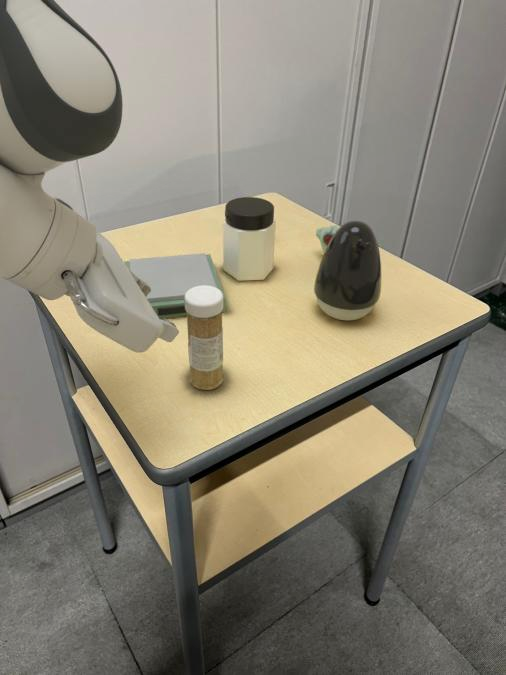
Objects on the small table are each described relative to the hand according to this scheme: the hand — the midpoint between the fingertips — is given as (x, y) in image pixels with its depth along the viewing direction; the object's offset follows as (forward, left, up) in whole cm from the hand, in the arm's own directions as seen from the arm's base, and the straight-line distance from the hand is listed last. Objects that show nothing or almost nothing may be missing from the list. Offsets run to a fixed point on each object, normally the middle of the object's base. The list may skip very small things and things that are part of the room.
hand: (159, 311), depth 60 cm
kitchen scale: (+3, +24, -12) cm, 27 cm away
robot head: (+33, +30, -12) cm, 46 cm away
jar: (+17, +29, -12) cm, 36 cm away
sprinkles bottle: (+5, +1, -12) cm, 13 cm away
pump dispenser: (+29, +13, -12) cm, 34 cm away
